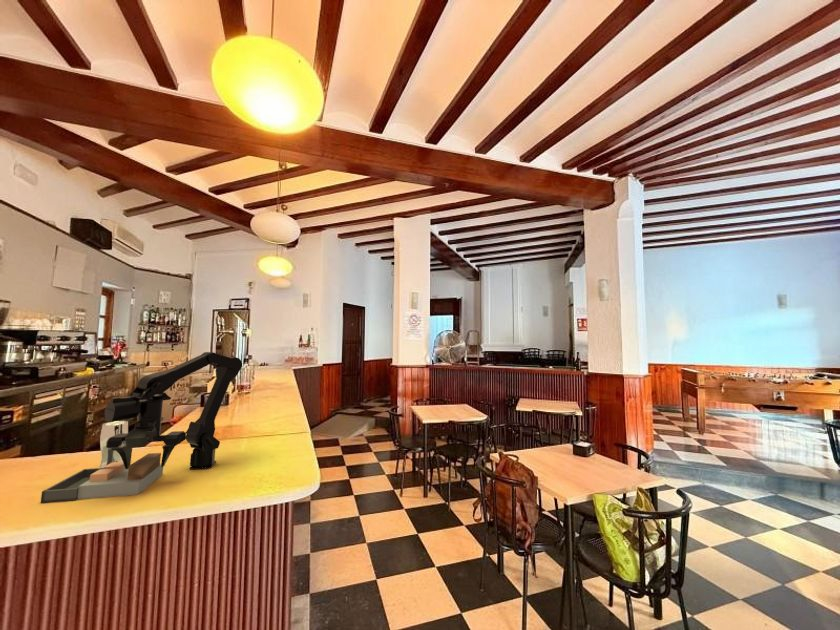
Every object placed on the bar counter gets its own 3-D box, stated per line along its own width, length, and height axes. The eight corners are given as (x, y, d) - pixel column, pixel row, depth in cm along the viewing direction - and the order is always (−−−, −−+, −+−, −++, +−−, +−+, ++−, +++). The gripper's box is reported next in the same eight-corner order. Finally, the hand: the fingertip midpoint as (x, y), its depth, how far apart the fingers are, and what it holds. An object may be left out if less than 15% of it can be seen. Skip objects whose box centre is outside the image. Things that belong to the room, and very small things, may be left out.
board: (162, 474, 109) (163, 463, 110) (137, 494, 95) (139, 481, 95) (111, 477, 106) (112, 466, 106) (77, 499, 91) (78, 486, 92)
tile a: (126, 468, 105) (127, 461, 105) (119, 472, 101) (119, 466, 101) (111, 469, 104) (112, 462, 104) (103, 473, 100) (103, 467, 100)
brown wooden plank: (159, 465, 108) (161, 452, 108) (141, 479, 97) (143, 465, 97) (147, 466, 107) (148, 453, 107) (127, 480, 96) (128, 465, 97)
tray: (112, 476, 106) (113, 467, 106) (75, 500, 91) (77, 488, 91) (83, 478, 104) (84, 469, 104) (40, 503, 89) (41, 491, 89)
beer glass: (107, 472, 109) (112, 426, 111) (91, 470, 111) (96, 424, 112) (129, 465, 116) (134, 421, 117) (114, 463, 118) (118, 420, 119)
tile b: (115, 475, 99) (115, 468, 99) (106, 480, 95) (107, 473, 95) (98, 476, 98) (99, 469, 98) (89, 482, 94) (90, 474, 94)
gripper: (96, 423, 93) (90, 480, 92) (173, 421, 98) (168, 475, 97) (120, 414, 104) (114, 466, 103) (188, 413, 109) (184, 462, 108)
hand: (145, 467), depth 102 cm, fingers open, 9 cm apart
